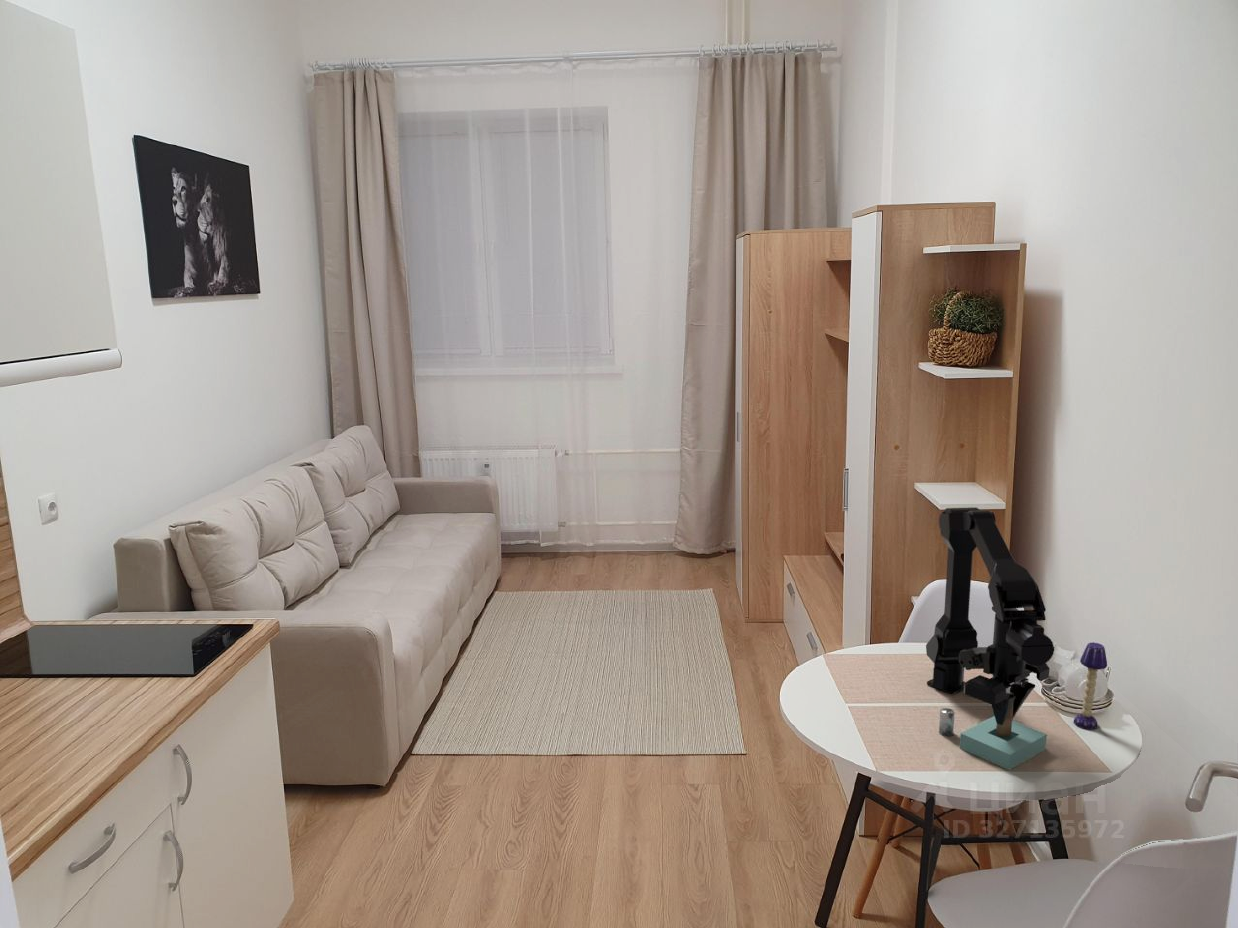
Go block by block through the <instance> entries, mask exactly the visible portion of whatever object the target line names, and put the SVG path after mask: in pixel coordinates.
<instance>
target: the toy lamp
mask: <svg viewBox="0 0 1238 928" xmlns="http://www.w3.org/2000/svg"><path fill="white" fill-rule="evenodd" d="M1079 662H1080V664H1081V665H1082V666H1084V667H1086V668H1087V672H1086V678H1087V679H1086V681H1085V687H1084V692H1085V693H1084V694H1083V702H1082V709H1081V713H1079V714H1077V715H1075V717H1074V719H1073V723H1074V724H1075V726H1077V727H1079V728H1082V729H1085V730H1095V729H1097V728H1098V725H1099V724H1098V721H1097V718H1096V717H1094V716H1093V715H1092V713H1093V712H1092V711H1093V710H1092V709H1093V706H1094V704H1093V702H1094V700H1095V692H1096V689H1095V688H1096V685H1097V678H1098V671H1099V670H1105V669H1107V667H1108V659H1107V653H1106V648H1105V646H1104V645H1103V644H1101V643H1098V642H1094V641H1093V642H1088V643H1087V645H1086V646H1085V648H1084V650H1083V653H1082V655H1081V657H1080V661H1079Z"/></svg>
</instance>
